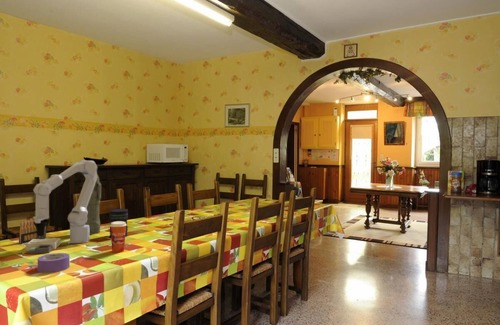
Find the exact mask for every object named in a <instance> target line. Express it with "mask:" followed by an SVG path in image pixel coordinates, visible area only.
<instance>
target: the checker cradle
mask: <svg viewBox="0 0 500 325" xmlns="http://www.w3.org/2000/svg"><path fill="white" fill-rule="evenodd" d="M52 251H53V249H52V245H39V246H38V247H31V248H30V249H29V250H27V254H28V255H34V254H50V253H51V252H52Z"/></svg>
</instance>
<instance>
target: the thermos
mask: <svg viewBox="0 0 500 325" xmlns="http://www.w3.org/2000/svg"><path fill="white" fill-rule="evenodd" d="M84 180H86V178H85V179H84ZM82 184H83V185H84V183H82ZM83 185H82V186H83ZM101 199H102V183H101V182H100V177H99V175H98V174H97V180H96V183H95V186H94V189H93V191H92V194H91V197H90V200H89V203H88V206H87V211H88V214H87V222H86V223H85V225H89V228H90V235H96V234H100V232H101V220H100V204H101Z"/></svg>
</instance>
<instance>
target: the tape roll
mask: <svg viewBox="0 0 500 325" xmlns="http://www.w3.org/2000/svg"><path fill="white" fill-rule="evenodd" d="M70 264H71V263H70V254H69V253H65V252H55V253H46V254H42V255H40V256H39V257H37V273H38V272H39V273H43V274H51V273H58V272H62V271H65V270H68V269H69V268H70V267H71V265H70Z"/></svg>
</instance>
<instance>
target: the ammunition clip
mask: <svg viewBox="0 0 500 325" xmlns="http://www.w3.org/2000/svg"><path fill="white" fill-rule="evenodd" d="M34 222H35V218H31V219H30V220H29V219H27V220H25V219H24V220H23V221H22V220H20V224H19V225H20V226H19V234H18V244H20V245H22V244H27V243H28V242H30V241H31V240H32V239H39V236H38V232H37V229H36V227H35V225H34Z"/></svg>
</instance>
